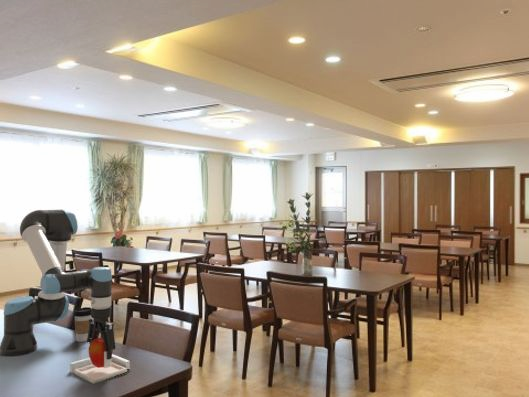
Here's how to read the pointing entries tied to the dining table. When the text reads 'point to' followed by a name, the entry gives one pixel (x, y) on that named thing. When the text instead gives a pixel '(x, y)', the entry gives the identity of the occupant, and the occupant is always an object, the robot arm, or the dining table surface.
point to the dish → (99, 372)
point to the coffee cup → (82, 323)
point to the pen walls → (87, 362)
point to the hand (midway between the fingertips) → (100, 363)
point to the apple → (97, 352)
